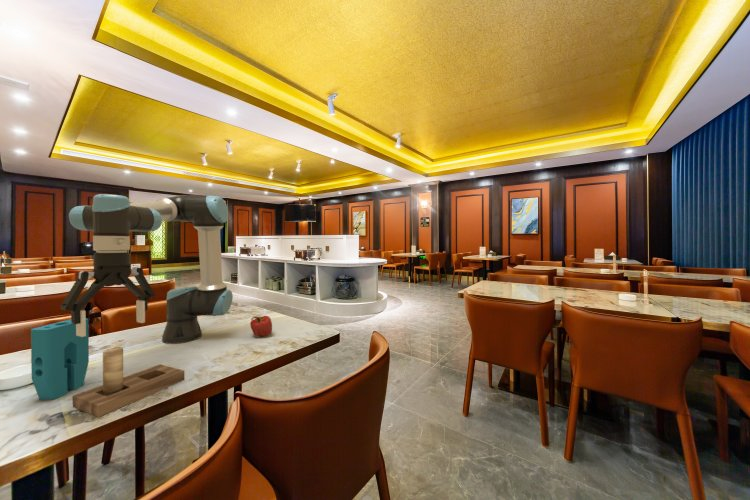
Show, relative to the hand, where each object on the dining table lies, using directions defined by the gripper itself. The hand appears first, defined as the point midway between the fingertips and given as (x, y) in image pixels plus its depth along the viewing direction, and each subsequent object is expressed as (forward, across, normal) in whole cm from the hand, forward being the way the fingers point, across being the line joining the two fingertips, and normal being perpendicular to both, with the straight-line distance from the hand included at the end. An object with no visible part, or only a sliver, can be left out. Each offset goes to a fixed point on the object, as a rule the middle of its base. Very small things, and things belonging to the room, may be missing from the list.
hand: (113, 328), depth 81 cm
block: (+20, -3, +19) cm, 28 cm away
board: (+20, +5, 0) cm, 21 cm away
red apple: (+21, +60, +4) cm, 63 cm away
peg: (+20, 0, 0) cm, 20 cm away
